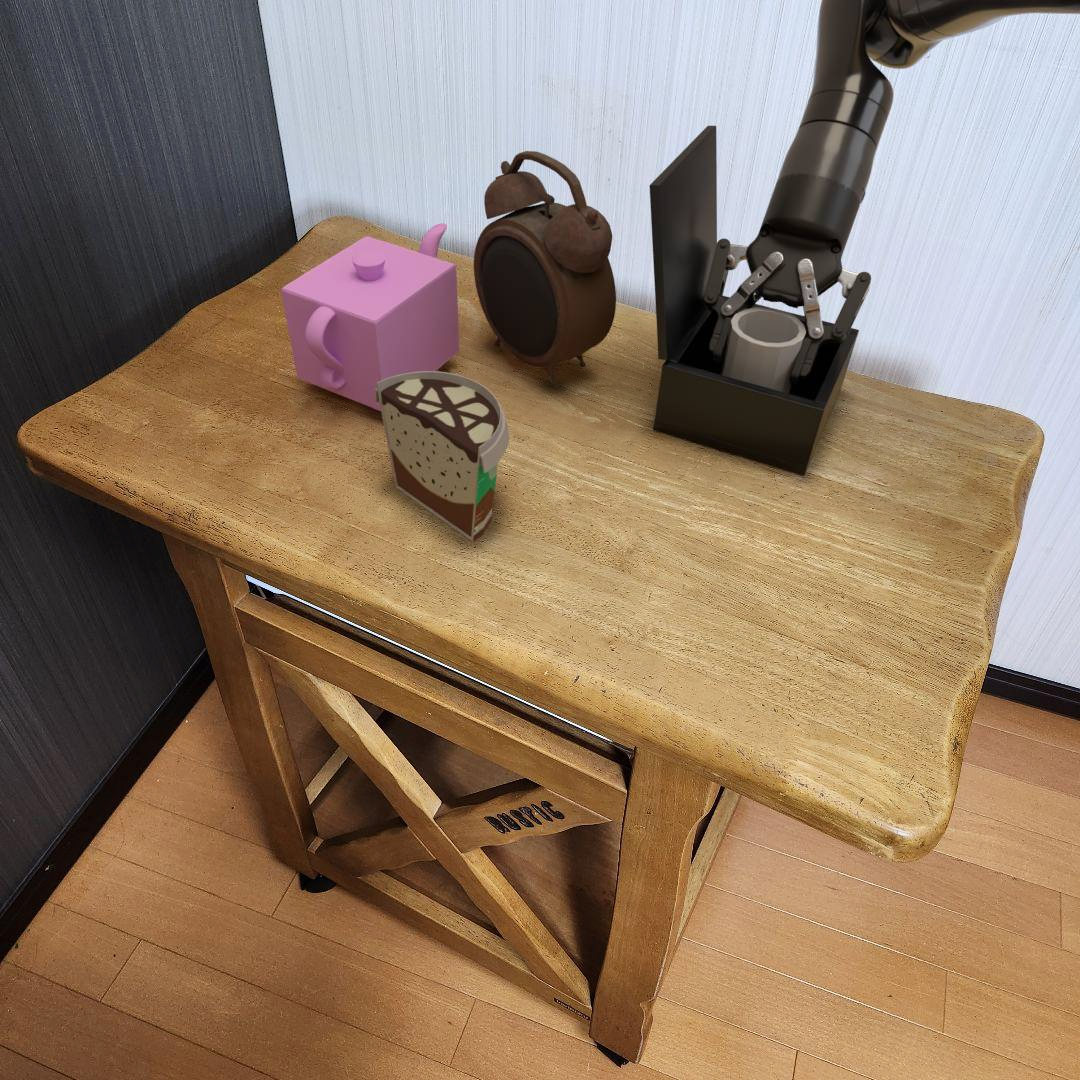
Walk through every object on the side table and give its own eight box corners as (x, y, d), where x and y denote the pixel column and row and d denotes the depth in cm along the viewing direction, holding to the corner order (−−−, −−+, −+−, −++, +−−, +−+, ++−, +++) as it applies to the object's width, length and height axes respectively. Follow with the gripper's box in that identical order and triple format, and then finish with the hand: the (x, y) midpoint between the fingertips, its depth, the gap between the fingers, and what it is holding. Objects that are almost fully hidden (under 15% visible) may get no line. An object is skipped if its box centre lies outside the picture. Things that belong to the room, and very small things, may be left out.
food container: (540, 513, 74) (544, 414, 67) (486, 551, 71) (484, 451, 64) (437, 447, 80) (431, 349, 73) (383, 479, 77) (371, 379, 70)
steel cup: (793, 393, 86) (813, 318, 80) (775, 430, 82) (795, 353, 76) (728, 375, 88) (743, 300, 82) (707, 410, 84) (721, 334, 78)
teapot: (369, 441, 80) (353, 315, 72) (281, 405, 84) (255, 280, 75) (490, 339, 93) (489, 221, 84) (410, 311, 97) (400, 195, 88)
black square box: (839, 393, 88) (859, 329, 83) (804, 476, 79) (824, 410, 74) (701, 355, 92) (712, 292, 87) (652, 430, 83) (662, 364, 78)
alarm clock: (464, 343, 92) (456, 142, 78) (519, 320, 96) (521, 123, 82) (559, 410, 85) (570, 200, 71) (615, 382, 88) (636, 176, 74)
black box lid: (716, 125, 77) (707, 125, 78) (659, 185, 68) (649, 185, 68) (717, 288, 87) (709, 288, 87) (667, 360, 77) (658, 359, 78)
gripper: (736, 155, 79) (672, 339, 79) (906, 189, 74) (836, 384, 75) (742, 192, 86) (683, 361, 86) (897, 226, 81) (834, 403, 82)
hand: (755, 371), depth 81 cm, fingers closed on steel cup, 6 cm apart
